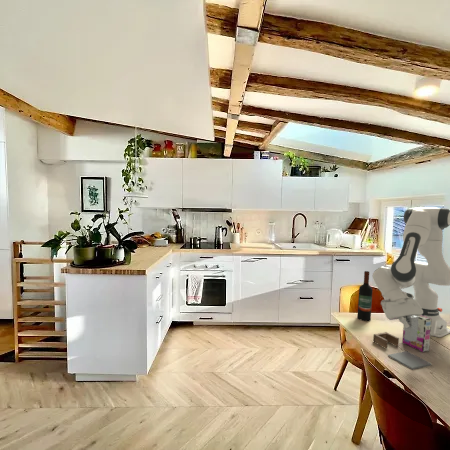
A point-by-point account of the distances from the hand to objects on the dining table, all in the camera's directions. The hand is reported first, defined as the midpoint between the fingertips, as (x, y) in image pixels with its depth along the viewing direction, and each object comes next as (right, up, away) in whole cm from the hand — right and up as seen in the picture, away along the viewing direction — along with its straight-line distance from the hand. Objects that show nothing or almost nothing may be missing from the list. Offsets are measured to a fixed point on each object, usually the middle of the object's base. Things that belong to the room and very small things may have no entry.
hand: (412, 326), depth 136 cm
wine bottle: (+2, -13, +52) cm, 53 cm away
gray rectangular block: (-1, -6, +1) cm, 6 cm away
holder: (-3, -15, +18) cm, 24 cm away
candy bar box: (+11, -16, +16) cm, 25 cm away
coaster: (-1, -16, +2) cm, 16 cm away
